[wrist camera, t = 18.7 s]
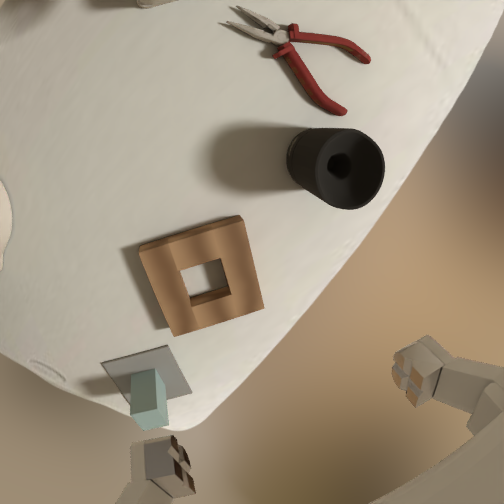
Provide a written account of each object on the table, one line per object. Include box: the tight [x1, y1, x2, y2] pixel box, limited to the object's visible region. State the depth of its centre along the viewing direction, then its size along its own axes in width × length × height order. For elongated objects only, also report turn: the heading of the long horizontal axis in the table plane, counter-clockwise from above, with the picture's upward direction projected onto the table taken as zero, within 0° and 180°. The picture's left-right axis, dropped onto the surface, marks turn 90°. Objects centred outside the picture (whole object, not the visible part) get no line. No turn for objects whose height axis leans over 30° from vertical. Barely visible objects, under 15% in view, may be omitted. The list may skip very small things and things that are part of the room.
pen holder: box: [287, 128, 385, 210], centre depth 38 cm, size 9×9×10 cm
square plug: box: [130, 369, 169, 431], centre depth 45 cm, size 4×4×9 cm
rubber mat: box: [102, 345, 192, 403], centre depth 50 cm, size 12×12×1 cm
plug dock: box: [139, 215, 264, 337], centre depth 44 cm, size 14×14×2 cm
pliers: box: [226, 6, 371, 116], centre depth 35 cm, size 12×20×3 cm, turn 64°
